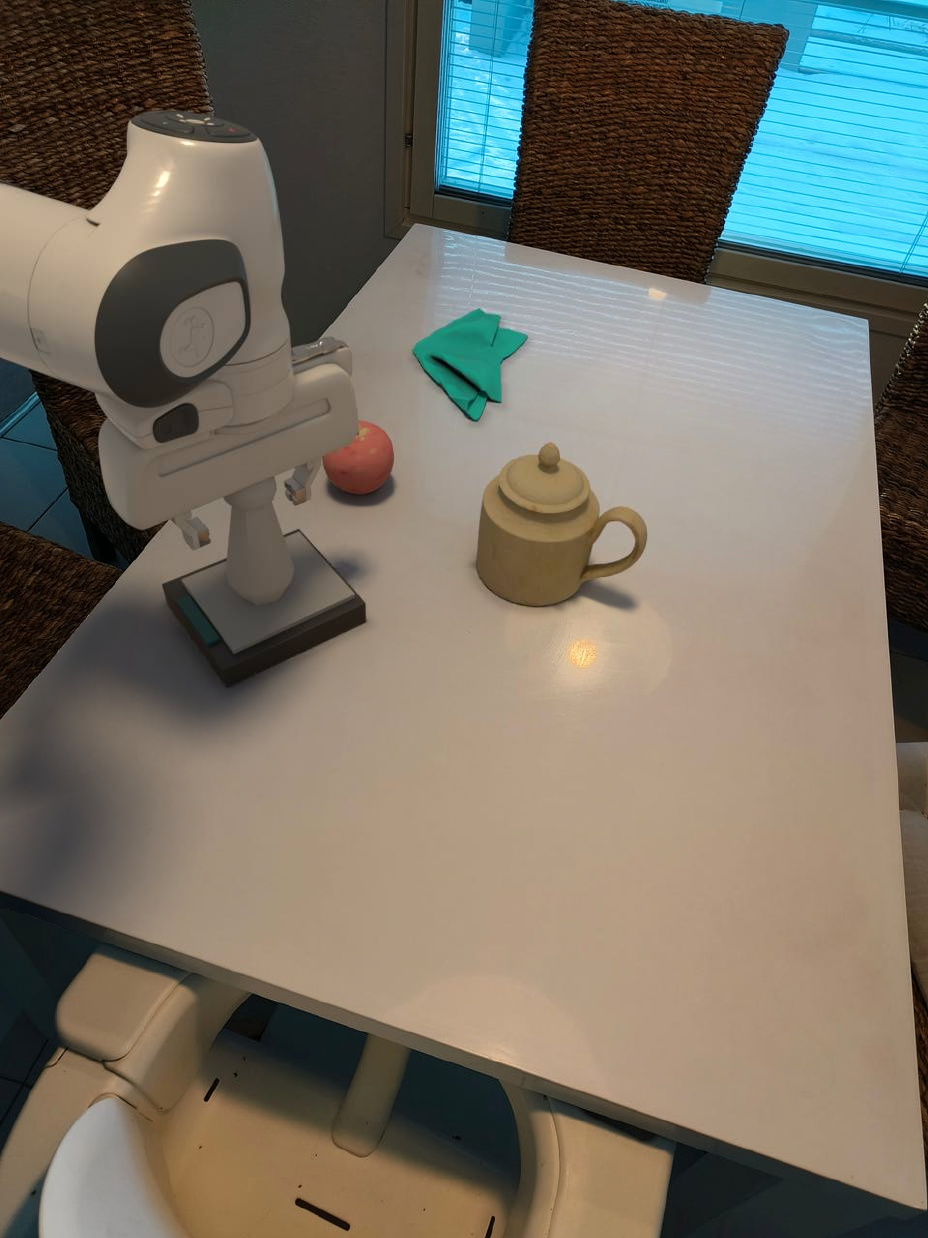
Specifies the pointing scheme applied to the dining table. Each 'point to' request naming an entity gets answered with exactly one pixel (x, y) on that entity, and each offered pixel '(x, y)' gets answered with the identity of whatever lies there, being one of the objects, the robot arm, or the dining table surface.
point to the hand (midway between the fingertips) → (249, 520)
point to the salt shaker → (257, 545)
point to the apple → (361, 461)
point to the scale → (264, 613)
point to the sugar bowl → (545, 530)
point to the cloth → (469, 358)
